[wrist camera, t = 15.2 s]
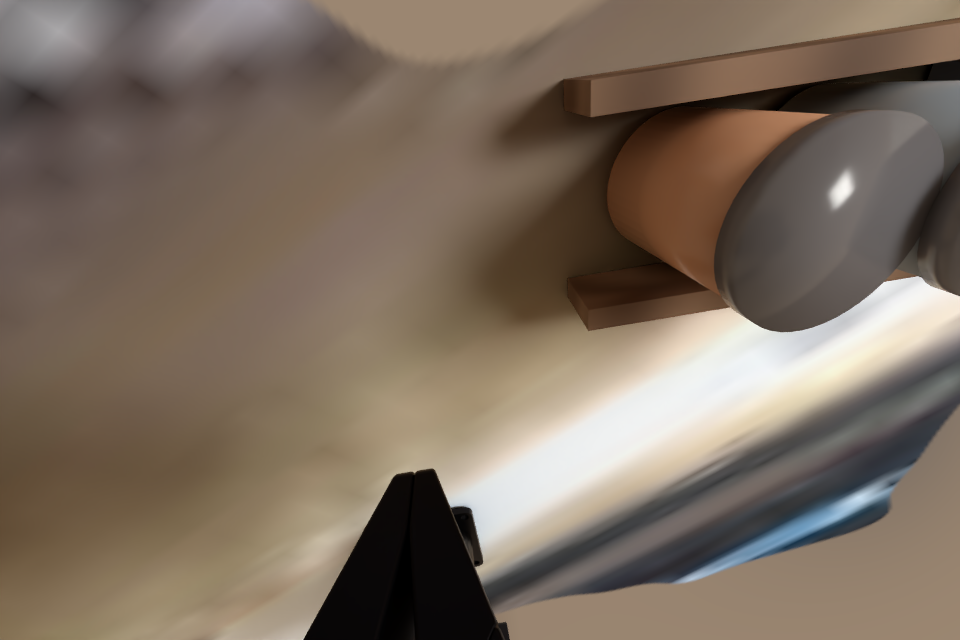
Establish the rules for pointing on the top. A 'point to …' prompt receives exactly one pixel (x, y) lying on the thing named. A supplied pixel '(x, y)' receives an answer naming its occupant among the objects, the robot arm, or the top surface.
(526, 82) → the top surface
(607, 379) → the top surface
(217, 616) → the top surface
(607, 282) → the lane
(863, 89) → the slate jar
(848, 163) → the terracotta jar
